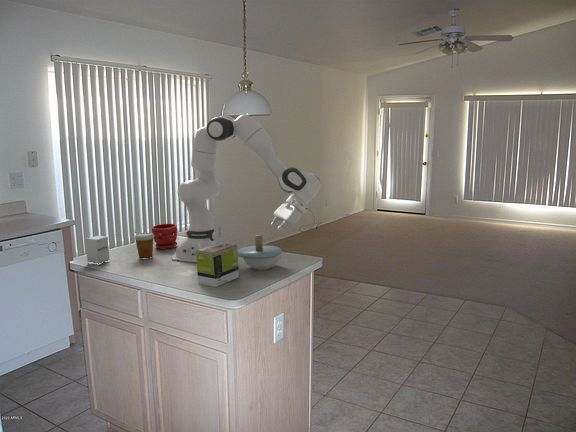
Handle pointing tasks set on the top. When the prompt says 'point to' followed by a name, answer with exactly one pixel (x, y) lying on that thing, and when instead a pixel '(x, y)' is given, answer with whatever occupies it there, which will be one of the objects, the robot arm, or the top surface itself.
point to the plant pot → (165, 235)
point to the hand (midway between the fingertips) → (275, 227)
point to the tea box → (217, 264)
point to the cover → (259, 250)
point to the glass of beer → (144, 244)
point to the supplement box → (97, 249)
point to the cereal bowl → (262, 262)
